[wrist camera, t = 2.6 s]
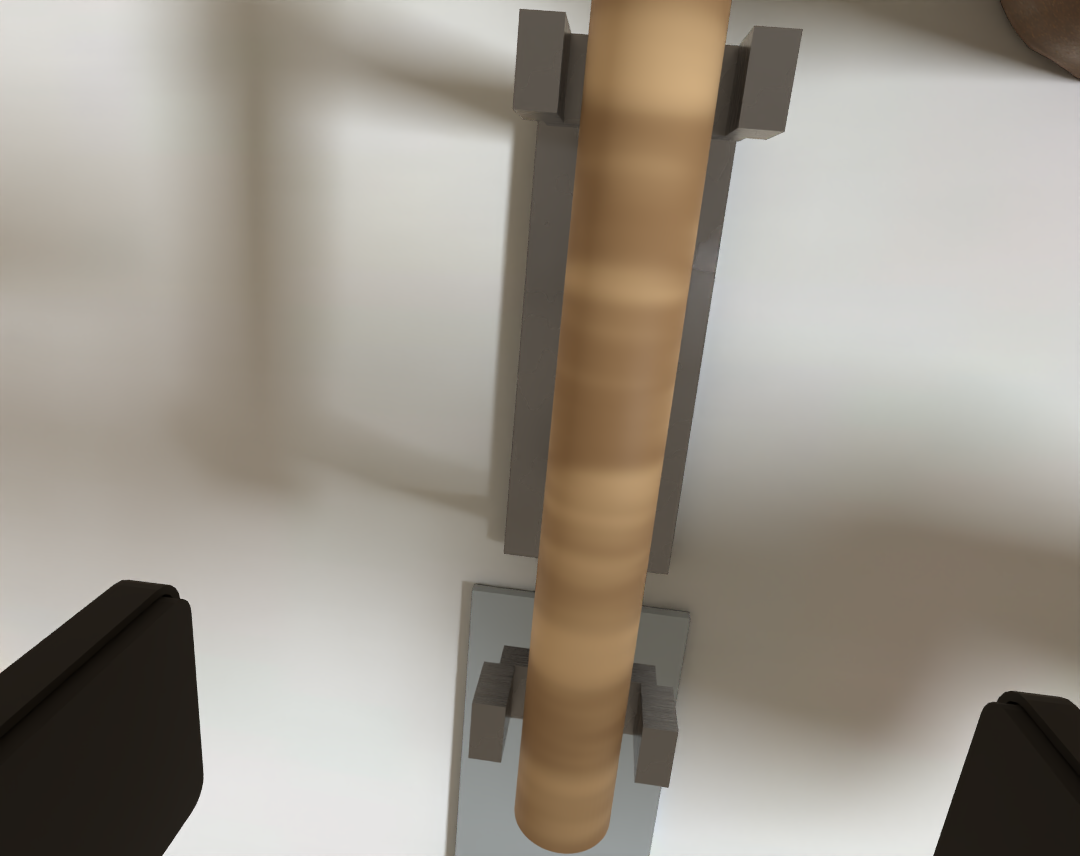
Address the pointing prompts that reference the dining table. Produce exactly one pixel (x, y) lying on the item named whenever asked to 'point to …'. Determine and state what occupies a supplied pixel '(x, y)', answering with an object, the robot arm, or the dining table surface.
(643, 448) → the oak dowel
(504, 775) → the slate mat
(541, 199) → the cradle stands
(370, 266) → the dining table surface
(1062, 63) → the plant pot
